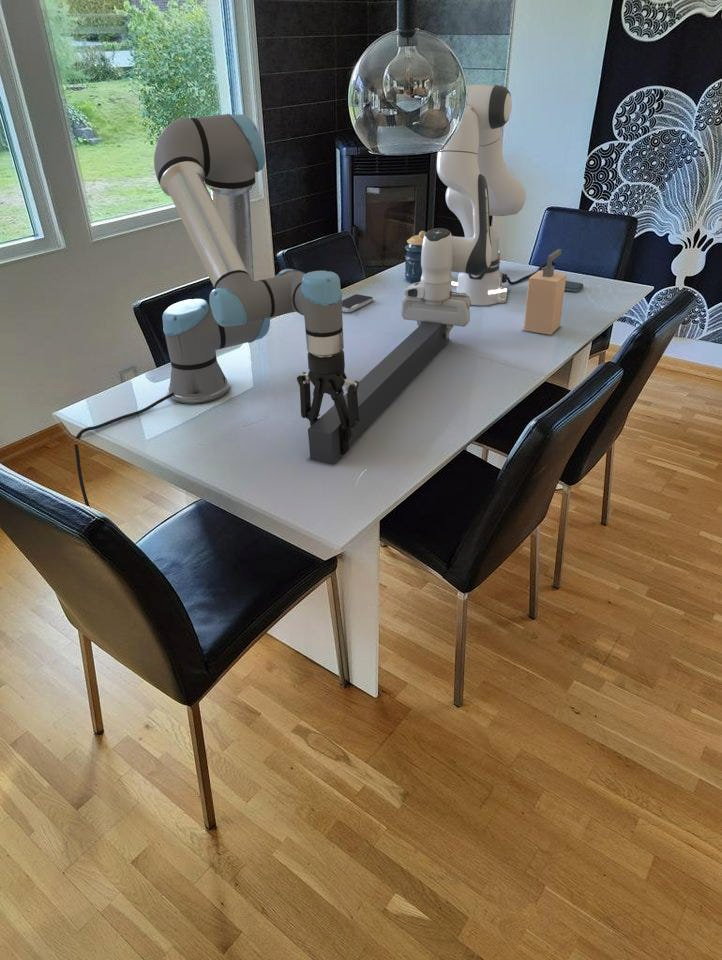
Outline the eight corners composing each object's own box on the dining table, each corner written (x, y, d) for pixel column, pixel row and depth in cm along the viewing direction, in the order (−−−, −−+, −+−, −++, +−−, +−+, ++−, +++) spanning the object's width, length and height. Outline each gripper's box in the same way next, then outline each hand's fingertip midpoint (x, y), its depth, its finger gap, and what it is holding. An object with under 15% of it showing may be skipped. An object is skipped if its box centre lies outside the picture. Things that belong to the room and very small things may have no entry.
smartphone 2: (577, 289, 235) (536, 281, 242) (576, 293, 236) (535, 286, 243) (584, 283, 240) (544, 276, 247) (583, 287, 241) (543, 280, 248)
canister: (411, 285, 249) (411, 236, 239) (400, 276, 259) (400, 228, 250) (444, 281, 252) (445, 232, 242) (431, 272, 262) (432, 225, 253)
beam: (333, 464, 144) (331, 433, 140) (310, 459, 146) (307, 429, 142) (449, 340, 202) (450, 316, 198) (431, 338, 204) (432, 314, 200)
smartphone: (373, 297, 235) (349, 309, 225) (373, 300, 236) (349, 313, 226) (355, 294, 239) (330, 305, 229) (356, 297, 240) (331, 309, 229)
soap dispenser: (550, 335, 203) (559, 261, 191) (523, 330, 207) (530, 257, 195) (564, 322, 212) (573, 250, 200) (538, 317, 216) (545, 247, 204)
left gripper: (374, 350, 136) (377, 449, 148) (295, 338, 143) (303, 434, 155) (359, 364, 130) (362, 465, 143) (276, 351, 137) (287, 449, 150)
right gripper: (474, 290, 189) (471, 337, 197) (407, 283, 197) (407, 328, 204) (467, 297, 184) (465, 344, 192) (399, 289, 192) (399, 335, 200)
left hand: (332, 448), depth 149 cm, fingers closed on beam, 6 cm apart
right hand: (434, 336), depth 198 cm, fingers closed on beam, 5 cm apart
